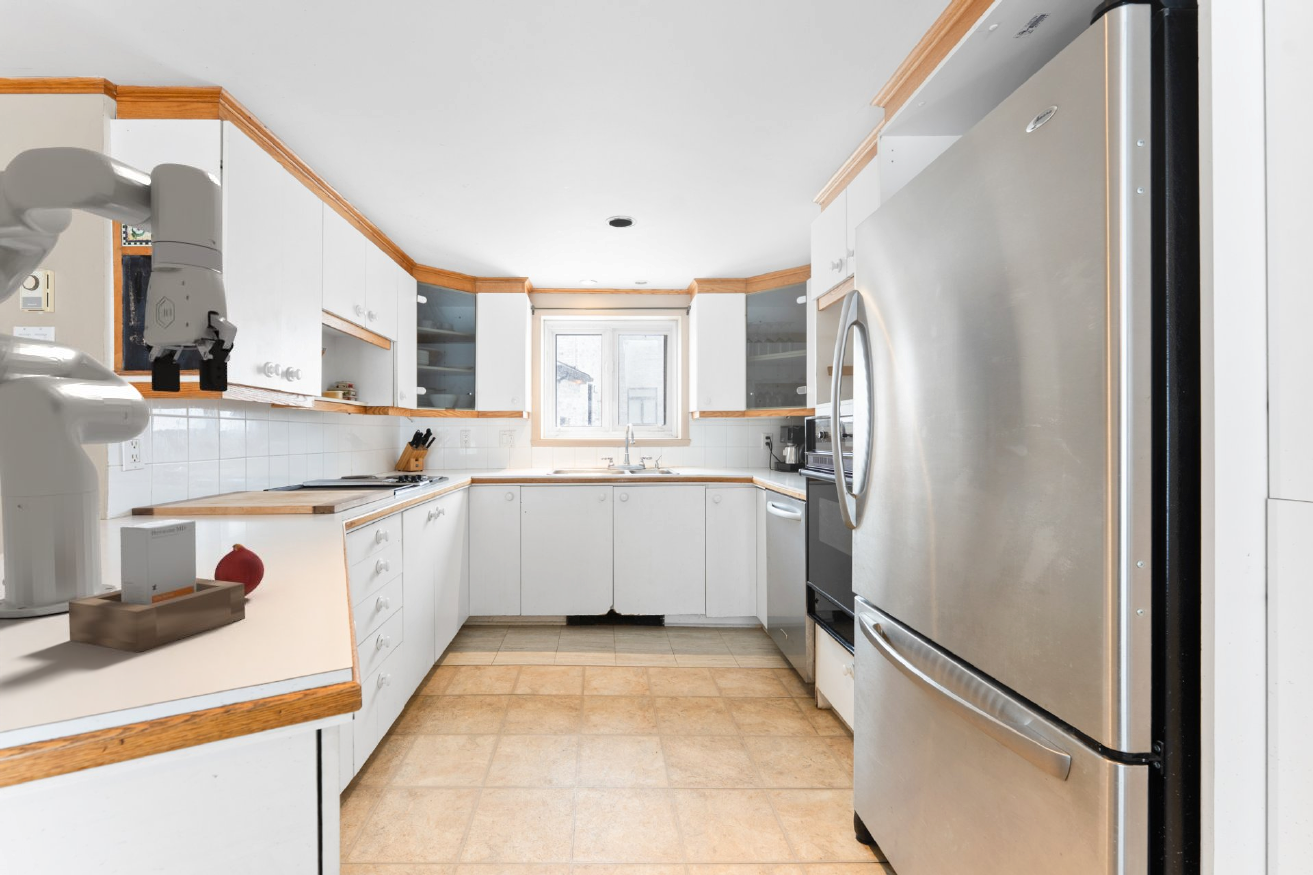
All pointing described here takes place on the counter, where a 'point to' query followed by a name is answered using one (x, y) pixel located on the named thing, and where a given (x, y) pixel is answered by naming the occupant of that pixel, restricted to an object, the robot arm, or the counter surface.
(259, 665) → the counter surface
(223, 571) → the onion
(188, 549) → the skincare box
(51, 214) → the robot arm
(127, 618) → the wooden tray
